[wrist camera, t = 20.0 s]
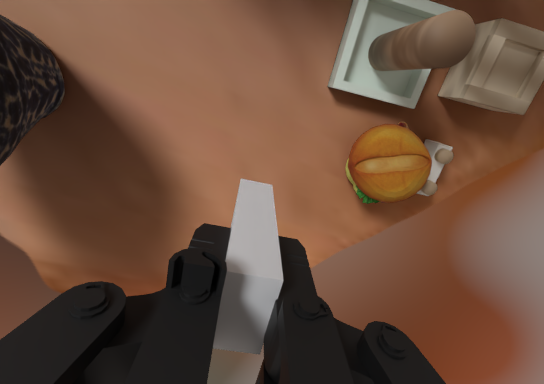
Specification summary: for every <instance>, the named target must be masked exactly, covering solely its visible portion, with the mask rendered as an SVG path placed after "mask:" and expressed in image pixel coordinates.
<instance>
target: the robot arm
mask: <svg viewBox="0 0 544 384" xmlns="http://www.w3.org/2000/svg"><path fill="white" fill-rule="evenodd" d="M263 343H264V360H263V362H262V365H261V368H260V371H259V375H258V378H257V380H256V383H255V384H446V383H445V382H444V381H443V379H442V378H441V377H440V376H439V374H438V373H437V372H436V371H435V369H434V368H433V367H432V366H431V364H430V363H429V362H428V361H427V359H426V358H425V357H424V355H422V353H421V352H420V351H419V349H418V348H417V347H416V345H415V344H414V343H413V342H412V341H411V340H410V339H409V338H408V337H407V336H406V335H405V334H404V333H403V332H402V331H400V330H399V329H397V328H396V327H394V326H392V325H390V324H387V323H385V322H378V321H374V322H371V323H368V325H367V326H366V328H365V329H364V331H361V330H359V329H357V328H354V327H352V326H350V325H347V324H345V323H343V322H341V321H339V320H337V319H335V318H334V317H333V314H332V312H331V310H330V308H329V306H328V305H327V303H326V302H324V300H322V298H320V297H318V296H317V293H316V289H315V285H314V282H313V278H312V274H311V270H310V267H309V262H308V259H307V255H306V251H305V248H304V247H303V246H302V244H301V243H300V242H299V241H298V240H297V239H292V238H287V237H282V236H278V230H277V222H276V213H275V205H274V196H273V188H272V185H269V184H265V183H260V182H255V181H250V180H245V179H241V181H240V186H239V190H238V195H237V200H236V205H235V209H234V214H233V219H232V224H231V228H227V227H222V226H216V225H211V224H206V223H204V224H203V225H201V226H200V227H199V228H197V229H196V230H195V233H194V235H193V237H192V240H191V242H190V245H189V248H188V249H184V250H181V251H179V252H177V253H175V254H174V255H173V256H172V257H171V259H170V260H169V265H168V274H167V283H166V288H164V289H162V290H160V291H158V292H155V293H152V294H146V295H138V296H128V297H126V295H125V293H124V292H123V290H122V288H120V287H118V286H117V285H115V284H113V283H108V282H102V281H100V282H88V283H85V284H81V285H78V286H75V287H73V288H71V289H69V290H67V291H66V292H64V293H62V294H61V295H59V296H58V297H57V298H55V299H54V300H53V301H51V302H50V303H49V304H47V305H46V306H45V307H43V308H42V309H41V310H39V311H38V312H37V313H35V314H34V315H33V316H31V317H30V318H29V319H27V320H26V321H25V322H24V323H22V324H21V325H20V326H18V327H17V328H16V329H14V330H13V331H12V332H10V333H9V334H7V335H6V336H5V337H3V338H2V339H1V340H0V384H207V378H208V373H209V367H210V361H211V354H212V349H221V350H229V351H237V352H245V353H253V354H260V352H261V349H262V346H263Z"/></svg>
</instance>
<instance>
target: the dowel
mask: <svg viewBox="0 0 544 384" xmlns="http://www.w3.org/2000/svg"><path fill="white" fill-rule="evenodd" d="M475 34H476V30H475V24H474V21H473V19H472V18H471V16H470V15H469V14H467V13H466V12H464V11H461V10H451V11H448V12H445V13H442V14H439V15H436V16H433V17H430V18H428V19H425V20H422V21H419V22H416V23H413V24H410V25H408V26H405V27H402V28H399V29H396V30H393V31H390V32H388V33H385V34H382V35H380V36H378V37H377V38H376V39H374V41H373V42H372V43H371V45H370V48H369V51H368V59H369V63H370V64H371V66H372V67H373V68H374V69H376V70H378V71H395V70H415V69H435V68H448V67H452V66H454V65H456V64H458V63H459V62H461V61H462V60H463V59H464V58H465V57H466V56H467V55H468V53H469V52H470V50H471V48H472V46H473V43H474V40H475Z"/></svg>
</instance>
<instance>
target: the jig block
mask: <svg viewBox="0 0 544 384" xmlns="http://www.w3.org/2000/svg"><path fill="white" fill-rule="evenodd" d="M475 30H476V34H475V40H474V43H473V46H472V48H471V50H470V52H469V53H468V55H467V56H466V57H465V58H464V59H463V60H462V61H461V62H459V63H458V64H456V65H454V66H452V67H450V69H449V71H448V74H447V76H446V78H445V80H444V83H443V85H442V87H441V89H440V92H439V94H438V96H440V97H444V98H448V99H451V100H455V101H459V102H462V103H466V104H469V105H473V106H477V107H480V108H484V109H488V110H491V111H498V112H505V113H512V114H519V115H524V114H525V112H526V110H527V108H528V107H529V105H530V103H531V101H532V100H533V98H534V96H535V95H536V93H537V91H538V89H539V88H540V86H541V84H542V82H543V81H544V32H543V31H540V30H537V29H534V28H531V27H528V26H525V25H522V24H519V23H516V22H513V21H510V20H507V19H504V18H500V19H496V20H492V21H488V22H483V23H479V24H475Z"/></svg>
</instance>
